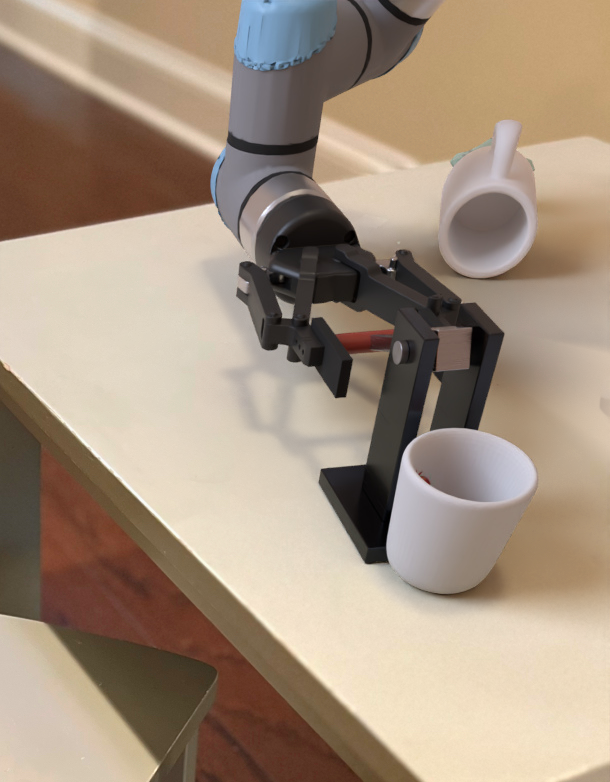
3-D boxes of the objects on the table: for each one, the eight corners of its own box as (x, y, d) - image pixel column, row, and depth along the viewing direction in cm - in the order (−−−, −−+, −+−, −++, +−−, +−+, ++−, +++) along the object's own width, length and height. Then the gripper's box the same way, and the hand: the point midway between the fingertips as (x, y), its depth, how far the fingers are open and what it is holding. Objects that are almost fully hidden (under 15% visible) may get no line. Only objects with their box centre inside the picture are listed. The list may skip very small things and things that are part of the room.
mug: (521, 239, 113) (558, 102, 105) (523, 283, 106) (563, 140, 98) (432, 232, 115) (462, 97, 107) (429, 275, 108) (460, 133, 100)
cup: (413, 493, 81) (447, 391, 75) (526, 535, 79) (571, 432, 72) (352, 578, 75) (383, 474, 69) (472, 626, 73) (515, 522, 67)
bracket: (317, 482, 84) (351, 291, 74) (438, 471, 85) (488, 280, 75) (364, 564, 77) (408, 364, 67) (496, 550, 78) (559, 351, 68)
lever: (322, 363, 83) (322, 327, 82) (417, 354, 84) (419, 319, 83) (397, 375, 71) (399, 333, 70) (507, 365, 72) (511, 324, 71)
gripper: (407, 278, 98) (526, 412, 82) (174, 297, 97) (248, 437, 81) (427, 183, 93) (558, 307, 77) (180, 202, 91) (261, 332, 75)
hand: (399, 373), depth 79 cm, fingers closed on lever, 7 cm apart
